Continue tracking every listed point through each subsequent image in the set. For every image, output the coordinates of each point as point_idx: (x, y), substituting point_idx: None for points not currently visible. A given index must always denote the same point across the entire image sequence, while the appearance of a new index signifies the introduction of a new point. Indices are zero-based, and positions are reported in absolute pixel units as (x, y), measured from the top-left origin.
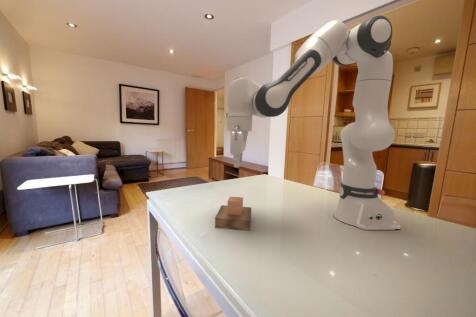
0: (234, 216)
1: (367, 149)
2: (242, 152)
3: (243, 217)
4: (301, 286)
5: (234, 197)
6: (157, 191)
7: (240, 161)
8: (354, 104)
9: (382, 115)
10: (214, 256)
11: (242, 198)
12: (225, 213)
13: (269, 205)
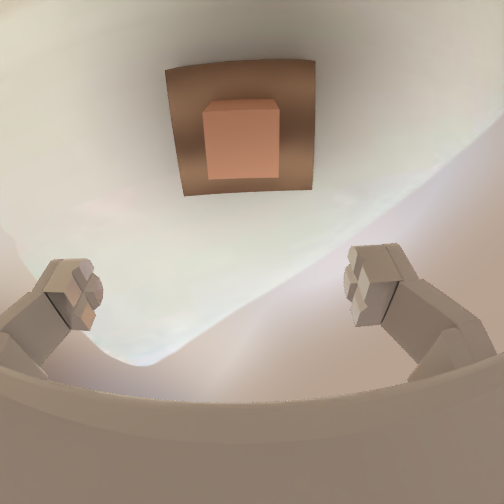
0: (288, 123)
1: None
2: (455, 381)
3: (291, 87)
4: (491, 9)
5: (216, 155)
6: (124, 361)
7: (83, 274)
8: None
9: None
10: (436, 153)
11: (219, 112)
12: None
13: (49, 36)
